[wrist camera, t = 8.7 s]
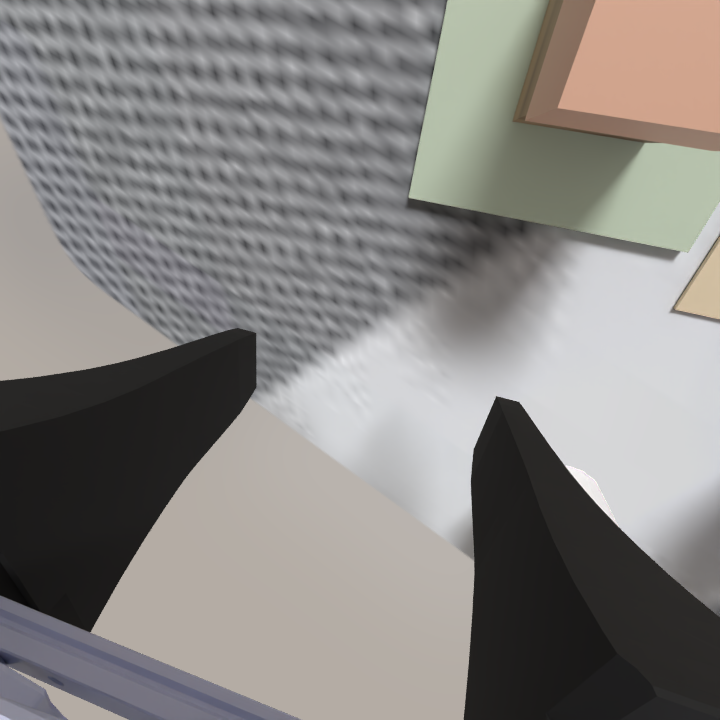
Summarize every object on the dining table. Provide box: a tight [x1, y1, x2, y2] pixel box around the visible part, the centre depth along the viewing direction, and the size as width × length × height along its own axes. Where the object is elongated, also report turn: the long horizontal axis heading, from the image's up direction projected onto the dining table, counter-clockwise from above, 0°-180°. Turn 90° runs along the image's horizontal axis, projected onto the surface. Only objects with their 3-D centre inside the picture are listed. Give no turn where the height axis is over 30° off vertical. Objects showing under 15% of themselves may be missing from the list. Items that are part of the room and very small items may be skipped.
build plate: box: [409, 0, 720, 253], centre depth 14 cm, size 12×12×1 cm
